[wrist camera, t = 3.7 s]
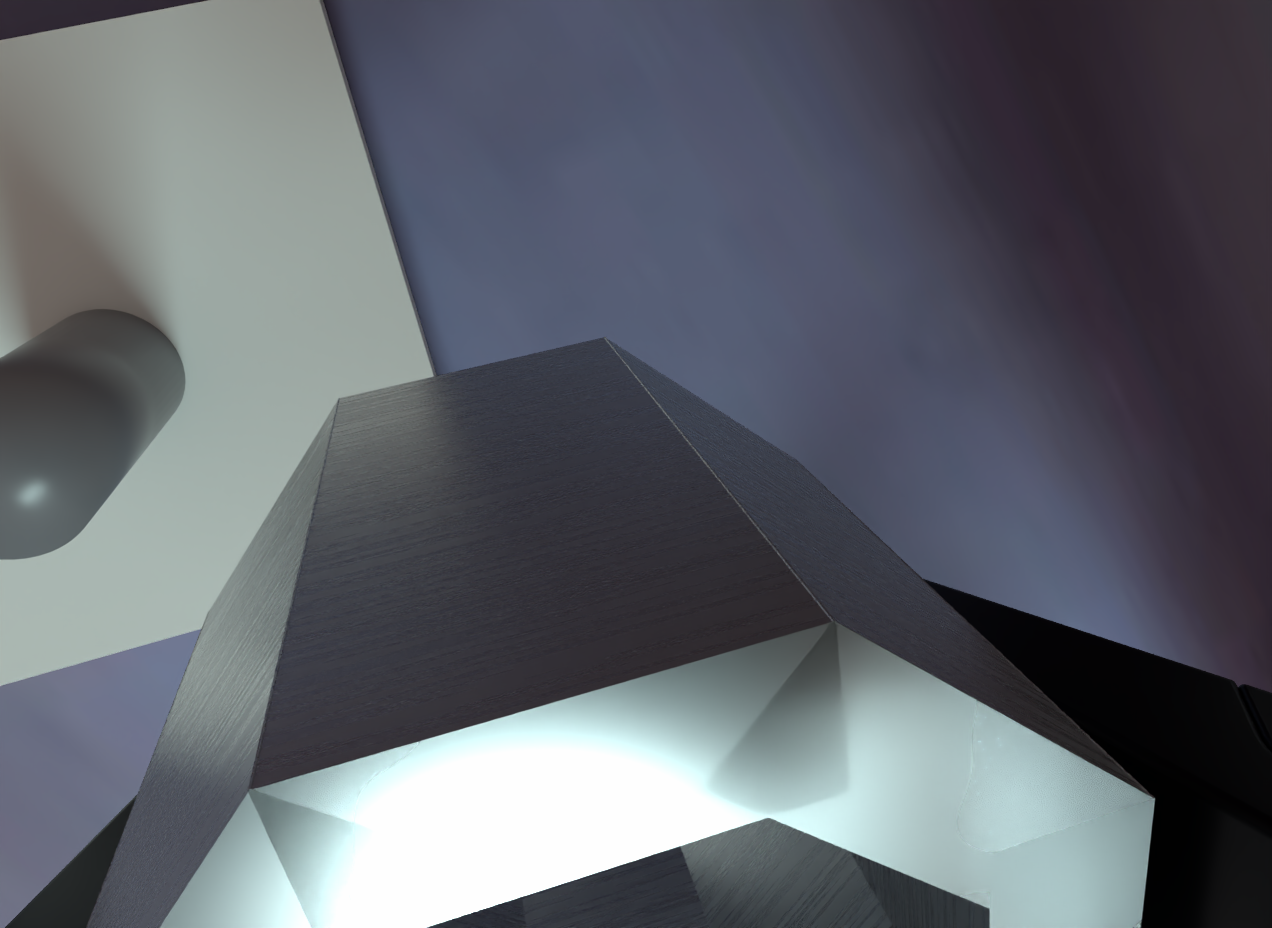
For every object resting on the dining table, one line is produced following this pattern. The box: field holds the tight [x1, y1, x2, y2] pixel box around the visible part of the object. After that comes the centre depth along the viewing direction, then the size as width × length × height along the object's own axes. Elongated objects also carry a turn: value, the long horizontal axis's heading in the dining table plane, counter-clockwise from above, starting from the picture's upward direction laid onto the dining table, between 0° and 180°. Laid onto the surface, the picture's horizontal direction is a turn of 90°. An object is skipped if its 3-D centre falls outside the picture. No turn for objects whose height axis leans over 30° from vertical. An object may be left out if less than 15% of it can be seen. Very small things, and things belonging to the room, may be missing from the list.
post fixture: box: [0, 0, 437, 686], centre depth 14 cm, size 11×11×6 cm
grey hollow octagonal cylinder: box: [86, 337, 1156, 928], centre depth 7 cm, size 6×6×5 cm
